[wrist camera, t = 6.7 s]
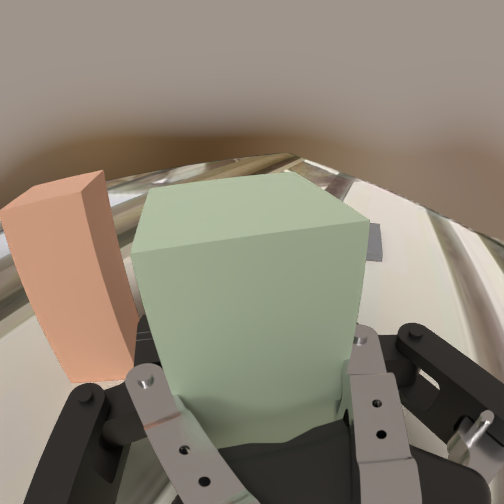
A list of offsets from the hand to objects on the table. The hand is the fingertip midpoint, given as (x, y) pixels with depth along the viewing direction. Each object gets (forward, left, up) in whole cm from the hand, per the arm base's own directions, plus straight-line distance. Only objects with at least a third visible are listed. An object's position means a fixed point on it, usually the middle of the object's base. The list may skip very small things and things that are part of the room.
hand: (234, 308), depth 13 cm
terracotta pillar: (-11, +1, -7) cm, 13 cm away
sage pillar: (+1, -2, -7) cm, 7 cm away
